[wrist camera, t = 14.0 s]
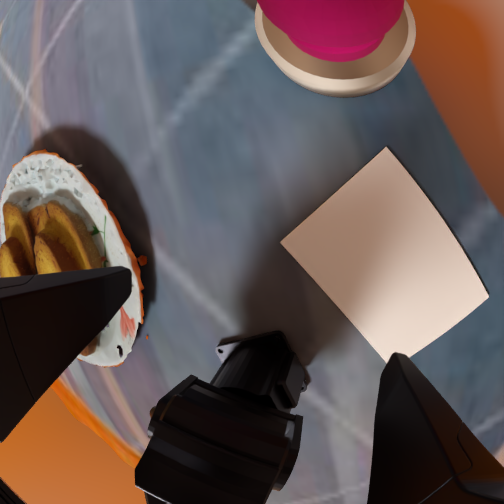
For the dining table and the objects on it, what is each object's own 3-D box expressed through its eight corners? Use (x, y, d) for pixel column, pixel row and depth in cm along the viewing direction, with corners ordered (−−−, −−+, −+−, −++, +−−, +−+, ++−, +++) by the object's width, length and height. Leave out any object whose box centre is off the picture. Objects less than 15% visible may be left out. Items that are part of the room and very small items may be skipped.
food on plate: (186, 204, 24) (134, 223, 18) (136, 393, 34) (106, 427, 27) (23, 128, 27) (-19, 132, 21) (15, 291, 37) (-16, 307, 31)
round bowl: (305, 119, 19) (298, 113, 16) (244, 11, 17) (230, -6, 15) (432, 73, 15) (445, 60, 12) (361, -32, 14) (361, -54, 11)
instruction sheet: (391, 367, 22) (391, 368, 22) (280, 241, 22) (279, 242, 22) (488, 295, 18) (489, 296, 18) (385, 146, 18) (386, 146, 18)
